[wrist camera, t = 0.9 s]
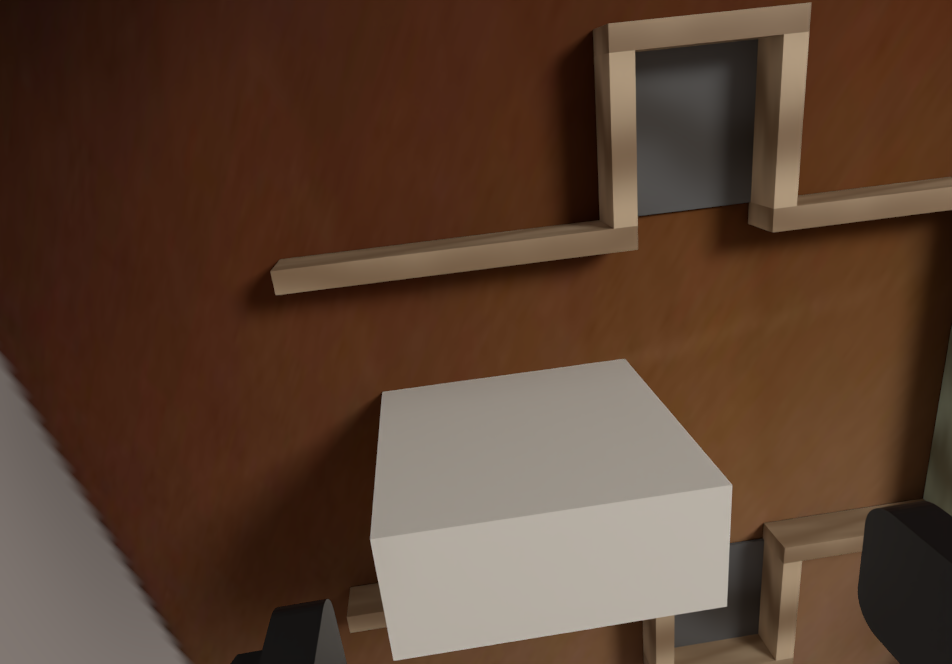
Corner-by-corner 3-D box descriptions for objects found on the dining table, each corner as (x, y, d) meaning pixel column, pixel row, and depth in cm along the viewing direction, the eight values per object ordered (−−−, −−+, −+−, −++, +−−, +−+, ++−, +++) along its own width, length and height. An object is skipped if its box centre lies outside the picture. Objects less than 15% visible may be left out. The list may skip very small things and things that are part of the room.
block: (382, 391, 36) (370, 539, 24) (624, 358, 37) (732, 484, 25) (397, 482, 38) (393, 660, 26) (626, 448, 39) (726, 606, 27)
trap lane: (238, 66, 30) (217, 62, 26) (1030, -17, 32) (1101, -30, 29) (376, 707, 44) (373, 756, 41) (918, 617, 46) (957, 656, 43)
